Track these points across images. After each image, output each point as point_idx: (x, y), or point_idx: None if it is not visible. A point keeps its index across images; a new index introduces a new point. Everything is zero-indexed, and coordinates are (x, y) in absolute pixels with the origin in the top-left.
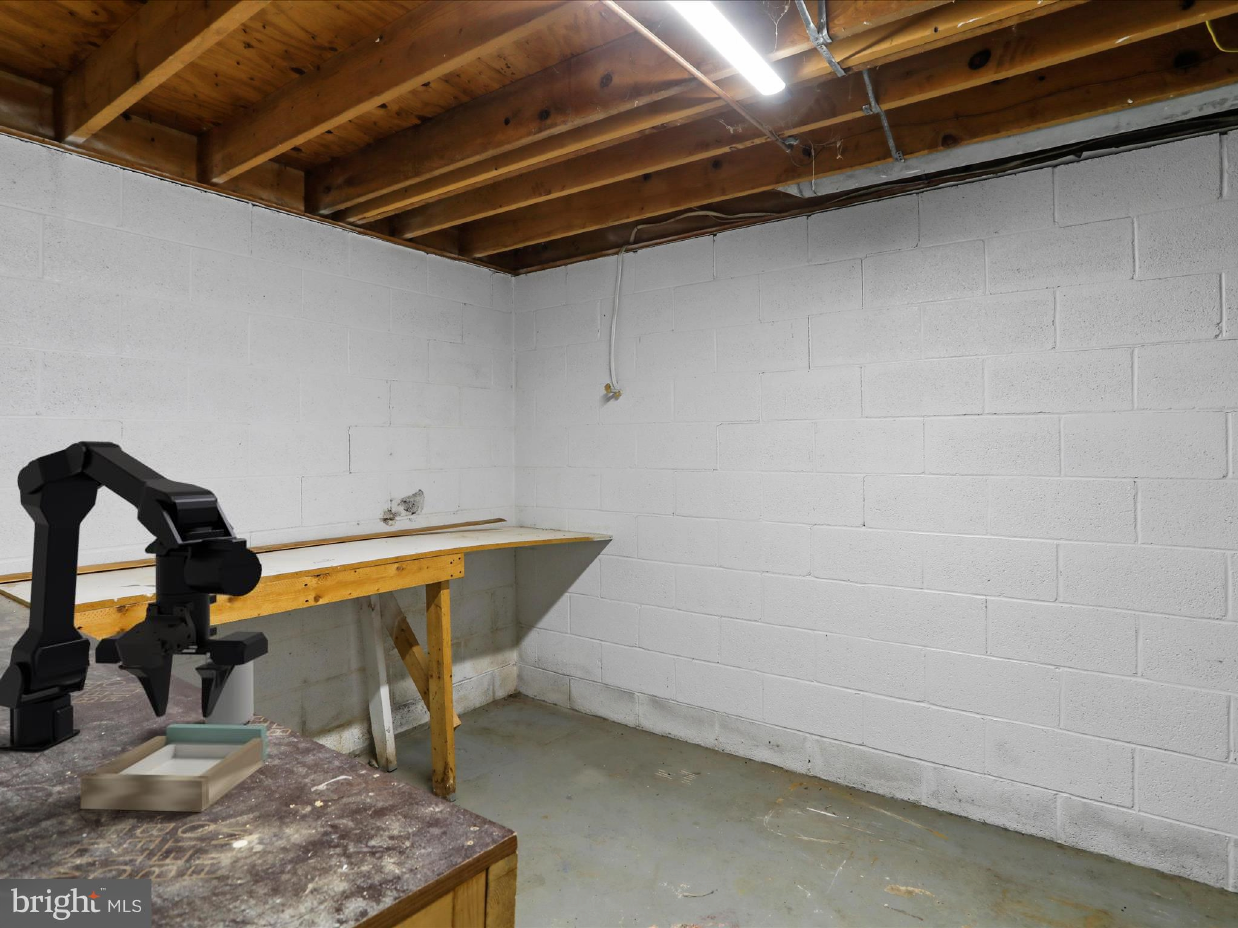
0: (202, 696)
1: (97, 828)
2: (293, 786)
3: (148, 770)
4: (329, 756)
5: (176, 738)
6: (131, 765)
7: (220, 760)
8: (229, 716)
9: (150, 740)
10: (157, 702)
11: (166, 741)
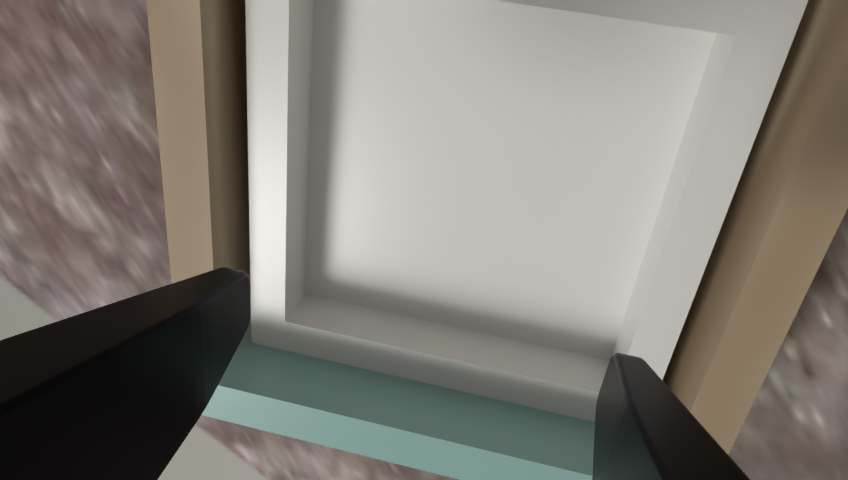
0: (105, 345)
1: None
2: (6, 53)
3: (661, 205)
4: (47, 297)
5: None
6: (751, 199)
7: (382, 283)
8: None
9: (739, 408)
10: (634, 429)
11: None
